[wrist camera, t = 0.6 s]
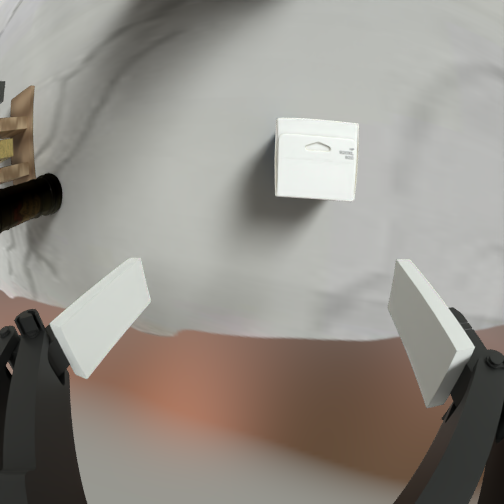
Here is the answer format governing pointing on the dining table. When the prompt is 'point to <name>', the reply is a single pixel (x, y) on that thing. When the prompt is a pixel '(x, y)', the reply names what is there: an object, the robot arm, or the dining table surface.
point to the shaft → (2, 90)
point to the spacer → (6, 149)
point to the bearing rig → (19, 139)
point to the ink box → (316, 159)
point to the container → (29, 200)
